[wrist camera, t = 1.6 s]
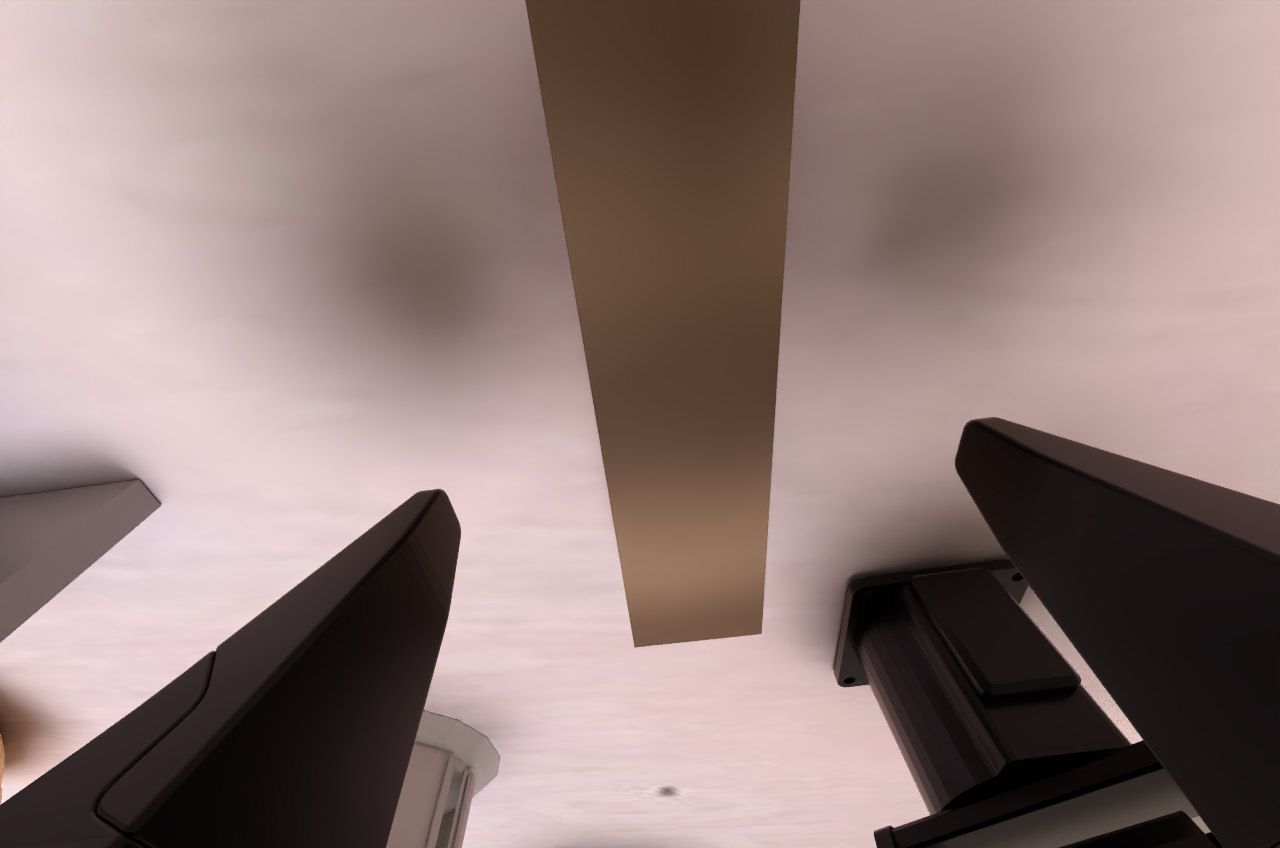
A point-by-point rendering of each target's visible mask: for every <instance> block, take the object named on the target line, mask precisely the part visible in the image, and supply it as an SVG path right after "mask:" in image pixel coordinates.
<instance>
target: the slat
mask: <svg viewBox="0 0 1280 848" xmlns="http://www.w3.org/2000/svg"><path fill="white" fill-rule="evenodd" d="M526 6H527V12H528V18H529V24H530V30H531V36H532V42H533V48H534V54H535V60H536V66H537V71H538V77H539V83H540V89H541V95H542V101H543V107H544V113H545V119H546V125H547V131H548V137H549V143H550V148H551V154H552V160H553V166H554V172H555V178H556V184H557V190H558V196H559V202H560V208H561V214H562V220H563V226H564V231H565V237H566V243H567V249H568V255H569V261H570V267H571V273H572V279H573V285H574V291H575V297H576V303H577V308H578V314H579V320H580V326H581V332H582V338H583V344H584V350H585V356H586V362H587V368H588V374H589V380H590V386H591V391H592V397H593V403H594V409H595V415H596V421H597V427H598V433H599V439H600V445H601V451H602V457H603V463H604V468H605V474H606V480H607V486H608V492H609V498H610V504H611V510H612V516H613V522H614V528H615V534H616V540H617V546H618V551H619V557H620V563H621V569H622V575H623V581H624V587H625V593H626V599H627V605H628V611H629V617H630V623H631V628H632V634H633V640H634V646H635V647H643V646H652V645H662V644H671V643H680V642H690V641H699V640H709V639H718V638H727V637H737V636H746V635H756V634H762V617H763V601H764V585H765V568H766V552H767V536H768V519H769V503H770V486H771V470H772V454H773V437H774V421H775V405H776V388H777V372H778V355H779V339H780V323H781V306H782V290H783V274H784V257H785V241H786V224H787V208H788V192H789V175H790V159H791V143H792V126H793V110H794V93H795V77H796V61H797V44H798V28H799V12H800V0H526Z"/></svg>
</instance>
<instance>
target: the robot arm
mask: <svg viewBox="0 0 1280 848" xmlns="http://www.w3.org/2000/svg"><path fill="white" fill-rule="evenodd" d="M955 467H956V471H957V473H958V475H959V477H960V479H961V480H962V482H963V484H964V485H965V487H966V489H967V490H968V492H969V494H970V496H971V497H972V499H973V501H974V502H975V504H976V506H977V507H978V509H979V511H980V513H981V514H982V516H983V518H984V519H985V521H986V523H987V524H988V526H989V528H990V530H991V531H992V533H993V535H994V536H995V538H996V539H997V541H998V543H999V544H1000V546H1001V547H1002V549H1003V550H1004V552H1005V553H1006V555H1007V556H1008V557H1009V559H1007V560H999V561H991V562H983V563H975V564H967V565H959V566H951V567H943V568H935V569H927V570H919V571H911V572H903V573H895V574H887V575H879V576H871V577H863V578H859V579H856V580H855V581H853V582H852V583H851V584H850V585H849V587H848V590H847V596H846V603H845V609H844V615H843V621H842V627H841V633H840V639H839V646H838V652H837V658H836V664H835V670H834V675H835V678H836V680H837V682H838V685H840V686H842V687H853V686H861V685H870V686H871V689H872V691H873V693H874V695H875V697H876V699H877V701H878V704H879V706H880V708H881V710H882V712H883V714H884V717H885V719H886V721H887V723H888V725H889V727H890V729H891V732H892V734H893V736H894V738H895V740H896V742H897V744H898V747H899V749H900V751H901V753H902V755H903V757H904V760H905V762H906V764H907V766H908V768H909V770H910V772H911V775H912V777H913V779H914V781H915V783H916V785H917V788H918V790H919V792H920V794H921V796H922V798H923V800H924V803H925V805H926V807H927V809H928V811H929V813H930V816H927V817H924V818H922V819H919V820H916V821H913V822H910V823H907V824H905V825H902V826H899V827H896V828H893V827H892V826H887V827H884V828H881V829H879V830H876V831H874V837H875V841H876V845H877V848H1280V505H1279V504H1276V503H1273V502H1270V501H1266V500H1263V499H1260V498H1257V497H1253V496H1250V495H1247V494H1244V493H1240V492H1237V491H1234V490H1231V489H1227V488H1224V487H1221V486H1218V485H1214V484H1211V483H1208V482H1205V481H1201V480H1198V479H1195V478H1192V477H1188V476H1185V475H1182V474H1179V473H1175V472H1172V471H1169V470H1166V469H1162V468H1159V467H1156V466H1153V465H1150V464H1146V463H1143V462H1140V461H1137V460H1133V459H1130V458H1127V457H1124V456H1120V455H1117V454H1114V453H1111V452H1107V451H1104V450H1101V449H1098V448H1094V447H1091V446H1088V445H1085V444H1081V443H1078V442H1075V441H1072V440H1068V439H1065V438H1062V437H1059V436H1055V435H1052V434H1049V433H1046V432H1043V431H1039V430H1036V429H1033V428H1030V427H1026V426H1023V425H1020V424H1017V423H1013V422H1010V421H1007V420H1004V419H1000V418H996V417H990V418H982V419H975V420H971V421H969V422H968V423H967V424H966V425H965V426H964V429H963V432H962V436H961V440H960V443H959V447H958V450H957V454H956V458H955ZM460 539H461V527H460V523H459V521H458V518H457V516H456V514H455V511H454V509H453V507H452V505H451V502H450V500H449V498H448V496H447V494H446V492H445V491H444V490H441V489H434V490H426V491H420V492H417V493H416V494H414V495H413V496H412V497H411V498H409V499H408V500H407V501H405V502H404V503H403V504H402V505H400V506H399V507H398V508H396V509H395V510H394V511H392V512H391V513H390V514H389V515H387V516H386V517H385V518H383V519H382V520H381V521H380V522H378V523H377V524H376V525H374V526H373V527H372V528H370V529H369V530H368V531H367V532H365V533H364V534H363V535H361V536H360V537H359V538H358V539H356V540H355V541H354V542H352V543H351V544H350V545H348V546H347V547H346V548H345V549H343V550H342V551H341V552H339V553H338V554H337V555H336V556H334V557H333V558H332V559H330V560H329V561H328V562H326V563H325V564H324V565H323V566H321V567H320V568H319V569H317V570H316V571H315V572H314V573H312V574H311V575H310V576H308V577H307V578H306V579H304V580H303V581H302V582H301V583H299V584H298V585H297V586H295V587H294V588H293V589H291V590H290V591H289V592H288V593H286V594H285V595H284V596H282V597H281V598H280V599H279V600H277V601H276V602H275V603H273V604H272V605H271V606H269V607H268V608H267V609H266V610H264V611H263V612H262V613H260V614H259V615H258V616H257V617H255V618H254V619H253V620H251V621H250V622H249V623H247V624H246V625H245V626H244V627H242V628H241V629H240V630H238V631H237V632H236V633H235V634H233V635H232V636H231V637H229V638H228V639H227V640H225V641H224V642H223V643H222V644H220V645H219V646H218V647H217V650H216V651H212V652H210V653H208V654H207V655H206V656H205V657H203V658H202V659H201V660H199V661H198V662H197V663H196V664H194V665H193V666H192V667H190V668H189V669H188V670H187V671H185V672H184V673H183V674H181V675H180V676H179V677H177V678H176V679H175V680H173V681H172V682H171V683H169V684H168V685H167V686H165V687H164V688H163V689H161V690H160V691H159V692H157V693H156V694H155V695H153V696H152V697H151V698H149V699H148V700H147V701H146V702H144V703H143V704H142V705H140V706H139V707H138V708H136V709H135V710H133V711H132V712H131V713H129V714H128V715H127V716H125V717H124V718H122V719H121V720H120V721H118V722H117V723H115V724H114V725H113V726H111V727H110V728H108V729H107V730H106V731H104V732H103V733H101V734H100V735H99V736H97V737H96V738H94V739H93V740H92V741H90V742H89V743H87V744H86V745H85V746H83V747H82V748H80V749H79V750H78V751H76V752H75V753H73V754H72V755H71V756H69V757H68V758H66V759H65V760H64V761H62V762H61V763H59V764H58V765H56V766H55V767H54V768H52V769H51V770H49V771H48V772H46V773H45V774H44V775H42V776H41V777H39V778H38V779H37V780H35V781H34V782H32V783H31V784H29V785H28V786H27V787H25V788H24V789H22V790H21V791H20V792H18V793H17V794H15V795H14V796H12V797H11V798H10V799H8V800H7V801H5V802H4V803H3V804H1V805H0V848H386V846H387V843H388V839H389V835H390V832H391V828H392V824H393V821H394V817H395V813H396V809H397V806H398V802H399V798H400V795H401V791H402V787H403V784H404V780H405V776H406V772H407V769H408V765H409V761H410V758H411V754H412V750H413V747H414V743H415V739H416V735H417V732H418V728H419V724H420V721H421V717H422V713H423V710H424V706H425V702H426V699H427V695H428V691H429V687H430V684H431V680H432V676H433V673H434V669H435V665H436V662H437V658H438V654H439V650H440V647H441V643H442V639H443V636H444V632H445V628H446V624H447V620H448V616H449V610H450V605H451V598H452V592H453V585H454V578H455V572H456V565H457V559H458V552H459V545H460ZM1028 585H1029V586H1030V587H1031V589H1032V590H1033V591H1034V593H1035V594H1036V595H1037V597H1038V598H1039V599H1040V601H1041V602H1042V604H1043V605H1044V606H1045V608H1046V609H1047V610H1048V612H1049V613H1050V614H1051V616H1052V617H1053V618H1054V620H1055V621H1056V622H1057V624H1058V625H1059V627H1060V628H1061V629H1062V631H1063V632H1064V633H1065V635H1066V636H1067V637H1068V639H1069V640H1070V641H1071V643H1072V644H1073V645H1074V647H1075V648H1076V649H1077V651H1078V652H1079V654H1080V655H1081V656H1082V658H1083V659H1084V660H1085V662H1086V663H1087V664H1088V666H1089V667H1090V668H1091V670H1092V671H1093V672H1094V674H1095V675H1096V677H1097V678H1098V679H1099V681H1100V682H1101V683H1102V685H1103V686H1104V687H1105V689H1106V690H1107V691H1108V693H1109V694H1110V695H1111V697H1112V698H1113V700H1114V701H1115V702H1116V704H1117V705H1118V706H1119V708H1120V709H1121V710H1122V712H1123V713H1124V714H1125V716H1126V717H1127V718H1128V720H1129V721H1130V723H1131V724H1132V725H1133V727H1134V728H1135V729H1136V731H1137V732H1138V733H1139V735H1140V736H1141V737H1142V739H1143V741H1140V742H1137V743H1135V744H1131V743H1130V742H1129V741H1128V739H1127V738H1126V737H1125V736H1124V735H1123V733H1122V732H1121V731H1120V730H1119V729H1118V728H1117V726H1116V725H1115V724H1114V723H1113V722H1112V720H1111V719H1110V718H1109V717H1108V716H1107V714H1106V713H1105V712H1104V711H1103V710H1102V709H1101V707H1100V706H1099V705H1098V704H1097V703H1096V701H1095V700H1094V699H1093V698H1092V697H1091V695H1090V694H1089V693H1088V692H1087V691H1086V690H1085V688H1084V687H1083V686H1082V685H1081V684H1080V683H1081V678H1080V676H1079V674H1078V673H1077V672H1076V671H1075V669H1074V668H1073V667H1072V666H1071V665H1070V664H1069V662H1068V661H1067V660H1066V659H1065V658H1064V657H1063V655H1062V654H1061V653H1060V652H1059V651H1058V650H1057V648H1056V647H1055V646H1054V645H1053V644H1052V643H1051V641H1050V640H1049V639H1048V638H1047V637H1046V635H1045V634H1044V633H1043V632H1042V631H1041V630H1040V628H1039V627H1038V626H1037V625H1036V624H1035V623H1034V621H1033V620H1032V619H1031V618H1030V617H1029V616H1028V614H1027V613H1026V612H1025V611H1024V610H1023V609H1022V607H1021V606H1020V605H1019V604H1020V602H1021V600H1022V597H1023V595H1024V593H1025V591H1026V589H1027V587H1028ZM1197 816H1200V817H1201V818H1202V820H1203V821H1204V823H1205V824H1206V825H1207V827H1208V828H1209V829H1210V830H1211V832H1208V833H1204V832H1203V831H1202V830H1201V829H1200V828H1199V827H1198V826H1197V825H1196V824H1195V823H1194V822H1193V820H1192V819H1191V818H1194V817H1197Z"/></svg>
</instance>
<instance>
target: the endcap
mask: <svg viewBox="0 0 1280 848" xmlns="http://www.w3.org/2000/svg"><path fill="white" fill-rule="evenodd" d="M160 506H161V505H160V503H159V502H158V501H157V500H156V499H155V498H154V496H153V495H152V494H151V493H150V492H149V491H148V489H147V488H146V487H145V486H144V485H143V484H142V482H141V481H140V480H139V479H138V480H131V481H123V482H115V483H108V484H100V485H93V486H85V487H78V488H70V489H62V490H55V491H47V492H40V493H32V494H24V495H17V496H9V497H2V498H0V642H2V641H3V640H4V639H5V638H6V637H7V636H9V635H10V634H11V633H12V632H13V631H14V630H16V629H17V628H18V627H19V626H20V625H22V624H23V623H24V622H25V621H26V620H27V619H29V618H30V617H31V616H32V615H33V614H34V613H36V612H37V611H38V610H39V609H40V608H42V607H43V606H44V605H45V604H46V603H47V602H49V601H50V600H51V599H52V598H53V597H54V596H56V595H57V594H58V593H59V592H60V591H61V590H63V589H64V588H65V587H66V586H67V585H69V584H70V583H71V582H72V581H73V580H74V579H76V578H77V577H78V576H79V575H80V574H81V573H83V572H84V571H85V570H86V569H87V568H88V567H90V566H91V565H92V564H93V563H94V562H96V561H97V560H98V559H99V558H100V557H101V556H103V555H104V554H105V553H106V552H107V551H108V550H110V549H111V548H112V547H113V546H114V545H115V544H117V543H118V542H119V541H120V540H121V539H123V538H124V537H125V536H126V535H127V534H128V533H130V532H131V531H132V530H133V529H134V528H135V527H137V526H138V525H139V524H140V523H141V522H142V521H144V520H145V519H146V518H147V517H148V516H150V515H151V514H152V513H153V512H154V511H155V510H157V509H158V508H159V507H160Z"/></svg>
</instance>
